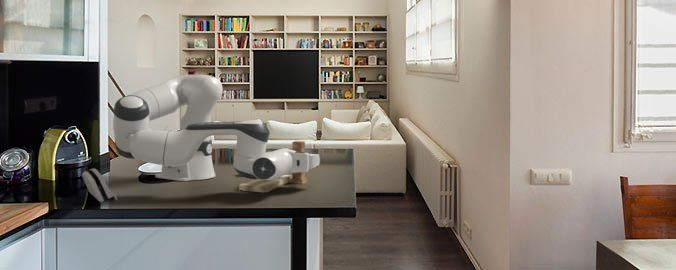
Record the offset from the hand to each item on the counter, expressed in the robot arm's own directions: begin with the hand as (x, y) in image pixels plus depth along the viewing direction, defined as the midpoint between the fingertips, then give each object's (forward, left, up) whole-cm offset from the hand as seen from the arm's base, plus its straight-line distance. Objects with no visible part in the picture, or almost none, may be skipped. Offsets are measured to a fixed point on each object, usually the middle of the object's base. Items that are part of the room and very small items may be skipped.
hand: (298, 156), depth 185 cm
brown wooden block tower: (0, +1, -10) cm, 10 cm away
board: (-9, -8, -10) cm, 16 cm away
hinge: (-51, -42, -10) cm, 67 cm away
